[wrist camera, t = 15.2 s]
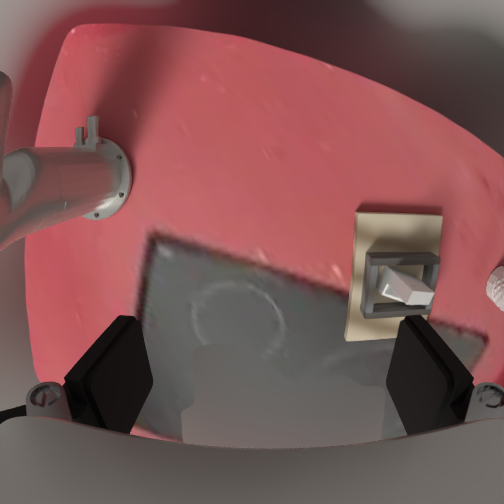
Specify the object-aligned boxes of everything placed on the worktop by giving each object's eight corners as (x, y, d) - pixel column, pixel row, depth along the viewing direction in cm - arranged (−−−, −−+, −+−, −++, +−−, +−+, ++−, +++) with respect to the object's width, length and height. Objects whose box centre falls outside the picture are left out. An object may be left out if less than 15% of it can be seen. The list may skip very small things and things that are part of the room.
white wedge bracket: (364, 259, 39) (412, 290, 32) (401, 267, 44) (443, 293, 37) (353, 284, 40) (399, 317, 33) (392, 288, 45) (432, 315, 38)
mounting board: (355, 211, 41) (364, 217, 37) (438, 214, 41) (452, 220, 36) (344, 336, 47) (350, 351, 43) (419, 330, 46) (430, 343, 42)
